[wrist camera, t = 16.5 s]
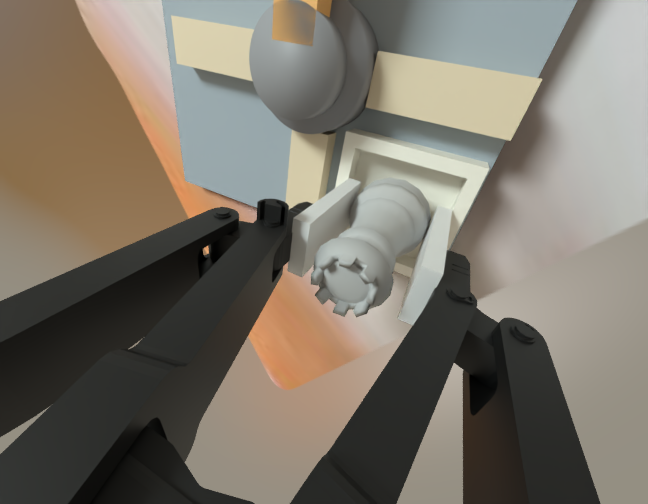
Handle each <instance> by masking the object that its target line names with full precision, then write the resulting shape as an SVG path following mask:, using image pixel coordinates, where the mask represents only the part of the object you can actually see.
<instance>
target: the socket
mask: <svg viewBox="0 0 648 504" xmlns="http://www.w3.org/2000/svg"><path fill="white" fill-rule="evenodd" d="M489 169H490V168H489V165H488V162H484V161H480V160H476V159H472V158H468V157H464V156H461V155H457V154H453V153H449V152H445V151H441V150H437V149H433V148H429V147H425V146H422V145H418V144H414V143H410V142H406V141H402V140H398V139H394V138H390V137H386V136H383V135H379V134H375V133H371V132H367V131H363V130H359V129H352V130H348V131H346V134H345V139H344V144H343V149H342V155H341V160H340V165H339V170H338V175H337V180H336V186H335V188H336V187H338V186H339V185H340V184H342V183H343V182H345V181H346V180H347V179H349V178H351V179H354V180H357V181H360V182H361V185H360V189H359V193H358V194H360V192H361V191H362V189H363V188H365V187H366V186H368V185H369V184H371V183H372V182H373V181H376V180H380V179H385V178H389V177H390V178H395V179H401V180H406V181H408V182H409V183H411V184H412V185H414V186H415V187H417V188H418V189H420V191H421V192H422V194H423V195H424V197H425V198H426V200H427V201H428V203H429V207H430V214H431V220H432V218H433V216H434V213H435V211H436V209H437V206H441V207H444V208H447V209H451V210H452V215H451V222H450V230H449V237H448V245H447V250H449V248H450V246H451V244H452V242H453V240H454V238H455V236H456V234H457V232H458V230H459V228H460V226H461V224H462V222H463V220H464V218H465V216H466V214H467V213H468V211H469V209H470V207H471V205H472V203H473V201H474V199H475V197H476V195H477V193H478V191H479V189H480V187H481V185H482V183H483V181H484V179H485V177H486V175H487V173H488V171H489ZM430 223H431V221H430ZM429 225H430V224H429ZM349 228H350V225H349V226H348V227H347V228H346V229H345V230H344V231H346V230H347V229H349ZM344 231H343V232H344ZM343 232H342V233H343ZM424 237H425V236H424ZM422 241H423V240H422ZM422 241H421V242H420V243H419V244H418V246H417V247H416V248H415V249H414V250H413V251H411V252H409V253H407V254H405V255H402V256H400V257H395V259H396V263H395V267H394V271H395V272H397V273H400V274H402V275H405V276H407V277H411V274H412V271H413V268H414V264H415V261H416V258H417V255H418V252H419V248H420V246H421V243H422Z"/></svg>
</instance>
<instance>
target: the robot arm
mask: <svg viewBox="0 0 648 504" xmlns="http://www.w3.org/2000/svg"><path fill="white" fill-rule="evenodd" d="M360 185H361V182H360V181H357V180H354V179H351V178H349V179H347V180H346V181H345V182H343V183H342V184H340V185H339V186H338V187H336V188H335V189H333V190H332V191H331V192H329V193H328V194H326V195H325V196H324V197H322V198H321V199H319V200H318V201H317V202H315V203H314V204H312V203H309V202H303V203H298V204H297V205H295V206H294V207H293V208H291V209H289V206H288V204H287V203H285V202H284V201H281V200H278V199H262V200H260V201H258V202H257V220H256V221H255V222H254V223H248V222H243V221H239V214H238V212H237V211H235V210H234V209H230V208H227V207H220V208H214V209H211V210H208V211H206V212H204V213H201V214H199V215H197V216H195V217H192V218H190V219H188V220H186V221H183V222H181V223H178V224H176V225H174V226H172V227H169V228H167V229H165V230H163V231H160V232H158V233H156V234H153V235H151V236H149V237H146V238H144V239H142V240H140V241H137V242H135V243H133V244H131V245H128V246H126V247H123V248H121V249H119V250H117V251H114V252H112V253H110V254H107V255H105V256H103V257H101V258H98V259H96V260H94V261H92V262H89V263H87V264H85V265H82V266H80V267H78V268H75V269H73V270H71V271H68V272H66V273H64V274H62V275H59V276H57V277H55V278H53V279H50V280H48V281H46V282H43V283H41V284H39V285H36V286H34V287H32V288H30V289H27V290H25V291H23V292H20V293H18V294H16V295H14V296H11V297H9V298H7V299H4V300H2V301H0V437H1V436H3V435H5V434H6V433H8V432H10V431H11V430H13V429H15V428H16V427H18V426H20V425H21V424H23V423H24V422H26V421H28V420H30V419H31V418H33V417H34V416H36V415H37V414H39V413H40V412H42V411H43V410H45V409H46V408H48V407H49V406H50V405H51V406H50V407H49V408H48V409H47V410H46V411H45V412H44V413H43V414H42V415H41V416H40V417H39V418H38V419H37V420H36V421H35V422H34V423H33V424H32V425H31V426H29V427H28V428H27V430H25V431H24V432H23V433H22V434H21V435H20V436H19V437H18V438H17V439H16V440H15V441H14V442H13V443H12V444H11V445H10V446H9V447H8V448H7V449H6V450H4V451H3V452H2V453H1V454H0V504H254V503H253V502H250V501H247V500H243V499H240V498H236V497H233V496H229V495H226V494H222V493H219V492H215V491H212V490H208V489H205V488H203V487H201V486H200V485H199V484H198V483H197V481H196V480H195V478H194V477H193V475H192V474H191V472H190V470H189V469H188V467H187V466H186V464H185V463H184V462H185V461H186V459H187V457H188V454H189V453H190V450H191V448H192V446H193V443H194V440H195V436H196V433H197V429H198V426H199V423H200V421H201V419H202V417H203V415H204V413H205V411H206V410H207V408H208V406H209V404H210V403H211V401H212V399H213V397H214V395H215V393H216V392H217V390H218V388H219V386H220V385H221V383H222V381H223V379H224V378H225V376H226V374H227V372H228V370H229V368H230V367H231V365H232V363H233V361H234V360H235V358H236V356H237V354H238V352H239V351H240V349H241V347H242V345H243V344H244V342H245V340H246V338H247V336H248V335H249V333H250V331H251V329H252V327H253V326H254V324H255V322H256V320H257V319H258V317H259V315H260V313H261V311H262V310H263V308H264V306H265V304H266V302H267V301H268V299H269V297H270V295H271V294H272V292H273V290H274V288H275V286H276V285H277V283H278V281H279V279H280V277H281V276H282V272H283V266H284V265H285V264H286V263H287V262H288V261H289V262H288V271H289V272H291V273H293V274H296V275H298V276H300V277H303V276H304V275H305V273H306V272H307V271H308V270H309V269H310V268H311V267H312V266H313V265H314V257H315V255H316V253H317V251H318V250H319V248H320V246H321V245H323V244H325V243H326V242H328V241H329V240H331V239H334V238H338V236H339V234H341V233H342V232H343V231H344V230H345V229H346V228H347V227H348V226H349V217H350V209H351V206H352V204H353V203H354V201H355V199H356V197H357V196H358V193H359V189H360ZM451 215H452V210H451V209H447V208H444V207H441V206H437V209H436V211H435V213H434V216H433V218H432V220H431V223H430V225H429V228H428V230H427V232H426V234H425V237H424V239H423V241H422V243H421V246H420V248H419V252H418V255H417V258H416V261H415V264H414V268H413V271H412V274H411V277H410V280H409V283H408V287H407V290H406V293H405V296H404V299H403V303H402V306H401V309H400V312H399V315H398V319H399V320H401V321H403V322H406V323H408V324H410V325H413V326H412V328H411V329H410V331H409V332H408V334H407V335H406V337H405V338H404V340H403V341H402V343H401V344H400V346H399V347H398V349H397V350H396V352H395V353H394V355H393V356H392V358H391V359H390V361H389V362H388V364H387V365H386V367H385V368H384V369H383V371H382V372H381V374H380V375H379V377H378V378H377V380H376V382H375V383H374V385H373V386H372V387H371V389H370V390H369V392H368V394H367V395H366V396H365V398H364V399H363V401H362V402H361V404H360V405H359V407H358V409H357V410H356V411H355V413H354V414H353V416H352V417H351V419H350V420H349V422H348V424H347V425H346V426H345V428H344V429H343V431H342V432H341V434H340V435H339V437H338V438H337V440H336V441H335V443H334V445H333V446H332V447H331V449H330V450H329V451H328V453H327V454H326V455H324V456H323V457H322V458H321V460H320V461H319V462H318V464H317V465H316V466H315V468H314V469H313V471H312V472H311V473H310V475H309V476H308V478H307V479H306V481H305V482H304V484H303V485H302V487H301V488H300V490H299V491H298V493H297V494H296V495H295V497H294V499H293V500H292V502H291V503H290V504H396V503H397V501H398V498H399V496H400V493H401V491H402V488H403V486H404V483H405V481H406V478H407V476H408V474H409V471H410V469H411V466H412V464H413V461H414V459H415V456H416V454H417V452H418V449H419V446H420V444H421V442H422V439H423V437H424V434H425V432H426V429H427V427H428V425H429V422H430V420H431V417H432V415H433V412H434V410H435V407H436V405H437V402H438V400H439V398H440V395H441V393H442V390H443V388H444V385H445V383H446V380H447V378H448V375H449V373H450V370H451V368H452V366H453V363H456V364H457V365H458V366H459V367H461V368H462V369H463V370H464V371H463V504H600V501H599V498H598V495H597V492H596V489H595V486H594V483H593V480H592V477H591V474H590V471H589V468H588V465H587V462H586V459H585V456H584V453H583V450H582V447H581V444H580V441H579V438H578V435H577V433H576V430H575V427H574V424H573V421H572V418H571V415H570V412H569V409H568V406H567V403H566V400H565V397H564V394H563V391H562V388H561V385H560V382H559V379H558V376H557V373H556V370H555V367H554V365H553V361H552V358H551V356H550V352H549V350H548V346H547V344H546V342H545V340H544V338H543V336H542V335H541V334H540V333H539V332H538V331H537V330H536V329H534V328H533V327H531V326H530V325H529V324H527V323H525V322H523V321H520V320H518V319H514V318H504V319H502V320H501V321H500V322H499V323H498V322H496V321H495V320H493V319H491V318H490V317H488V316H486V315H485V314H484V313H482V312H481V311H480V310H479V309H477V308H476V307H477V300H476V298H475V297H474V295H473V294H472V293H471V292H470V263H469V261H468V260H467V258H466V257H465V256H463V255H460V254H457V253H454V252H452V251H449V250H447V245H448V237H449V230H450V222H451ZM206 246H209V254H207V255H205V256H204V255H203V248H204V247H206ZM143 337H144V338H143ZM142 338H143V339H142ZM141 339H142V340H141ZM139 340H141V341H140V342H139V343H138V344H137V345H136V346H135V347H133V348H131V349H128V348H130V347H131V346H133V345H134V344H135V343H137V342H138V341H139Z"/></svg>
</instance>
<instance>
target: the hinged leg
mask: <svg viewBox="0 0 648 504" xmlns="http://www.w3.org/2000/svg"><path fill="white" fill-rule="evenodd" d="M331 3H332V0H274V2H273V5H272V6H270V7H269V8H268V9H267V10H266V11H265V12H264V13H263V14H262V16H261V17H260V19H259V20H258V22H257V24H256V26H255V29H254V32H253V34H252V38H251V43H250V51H249V64H250V72H251V77H252V80H253V84H254V86H255V89H256V91H257V93H258V95H259V97H260V99H261V100H262V102H263V103H264V104H265V105H266V107H267V108H268V109H269V110H271V111H272V112H273V113H274V114H276V115H277V116H279V117H281V118H284V119H288V120H301V119H307V118H313V117H316V116H319V115H321V114H323V113H324V112H326V111H327V110H328V109H329V108H331V107H332V105H333V104H334V103H335V102H336V100H337V99H338V97H339V95H340V93H341V91H342V88H343V85H344V82H345V78H346V71H347V55H346V48H345V44H344V41H343V38H342V35H341V33H340V31H339V29H338V27H337V26H336V24H335V23H334V22H333V20H332V19H331V18H330V11H331Z"/></svg>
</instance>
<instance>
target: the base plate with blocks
mask: <svg viewBox="0 0 648 504" xmlns="http://www.w3.org/2000/svg"><path fill="white" fill-rule="evenodd" d="M273 2H274V0H162V6H163V13H164V21H165V29H166V36H167V44H168V52H169V59H170V67H171V75H172V83H173V90H174V98H175V106H176V113H177V121H178V129H179V137H180V144H181V152H182V160H183V167H184V175H185V181H187V182H190V183H192V184H195V185H198V186H200V187H203V188H206V189H208V190H211V191H213V192H216V193H219V194H221V195H224V196H227V197H229V198H232V199H235V200H237V201H240V202H243V203H245V204H248V205H251V206H253V207H256V208H257V202H258V201H260V200H262V199H278V200H281V201H284V202H285V203H287V204H288V206H289V209H291V208H293V207H294V206H295V205H297V204H298V203H303V202H309V203H312V204H314V203H315V202H317V201H318V200H319V199H321V198H322V197H324V196H325V195H326V194H328V193H329V192H331V191H332V190H333V189H335V186H336V180H337V175H338V170H339V165H340V160H341V155H342V149H343V144H344V139H345V134H346V131H348V130H352V129H359V130H363V131H367V132H371V133H375V134H379V135H383V136H386V137H390V138H394V139H398V140H402V141H406V142H410V143H414V144H418V145H422V146H425V147H429V148H433V149H437V150H441V151H445V152H449V153H453V154H457V155H461V156H464V157H468V158H472V159H476V160H480V161H484V162H488V165H489V168H490V169H489V171H488V173H487V175H486V177H485V179H484V181H483V183H482V185H481V187H480V189H479V191H478V193H477V195H476V197H475V199H474V201H473V203H472V205H471V207H470V209H469V211H468V213H467V214H466V216H465V218H464V220H463V222H462V224H461V226H460V228H459V230H458V232H457V234H456V236H455V238H454V240H453V242H452V244H451V246H450V248H449V251H450V249H451V247H452V245H453V243H454V241H455V239H456V237H457V235H458V234H459V232H460V230H461V228H462V226H463V224H464V222H465V220H466V218H467V216H468V214H469V212H470V210H471V208H472V206H473V204H474V202H475V200H476V198H477V196H478V194H479V192H480V190H481V188H482V186H483V185H484V183H485V181H486V179H487V177H488V175H489V173H490V171H491V169H492V167H493V165H494V163H495V161H496V159H497V157H498V155H499V153H500V151H501V149H502V147H503V145H504V143H505V141H506V140H509V141H511V139H512V137H513V135H514V133H515V131H516V129H517V128H518V126H519V124H520V122H521V120H522V118H523V116H524V114H525V112H526V110H527V108H528V106H529V104H530V103H531V101H532V99H533V97H534V95H535V93H536V91H537V89H538V87H539V85H540V83H541V81H542V79H541V78H538V77H539V75H540V73H541V71H542V69H543V67H544V65H545V63H546V61H547V59H548V57H549V55H550V53H551V51H552V49H553V47H554V45H555V43H556V41H557V40H558V38H559V36H560V34H561V32H562V30H563V28H564V26H565V24H566V22H567V20H568V18H569V16H570V14H571V12H572V10H573V8H574V6H575V4H576V2H577V0H332V3H331V11H330V18H331V19H332V20H333V22H334V23H335V24H336V26H337V27H338V29H339V31H340V33H341V35H342V38H343V41H344V44H345V48H346V55H347V71H346V78H345V82H344V85H343V88H342V91H341V93H340V95H339V97H338V99H337V100H336V102H335V103H334V104H333V105H332V107H331V108H329V109H328V110H327V111H326V112H324V113H323V114H321V115H319V116H316V117H313V118H307V119H301V120H288V119H284V118H281V117H279V116H277V115H276V114H274V113H273V112H272V111H271V110H269V109H268V108H267V107H266V105H265V104H264V103H263V102H262V100H261V99H260V97H259V95H258V93H257V91H256V89H255V86H254V84H253V80H252V77H251V72H250V64H249V51H250V43H251V38H252V34H253V32H254V29H255V26H256V24H257V22H258V20H259V19H260V17H261V16H262V14H263V13H264V12H265V11H266V10H267V9H268V8H269V7H270V6H272V5H273Z"/></svg>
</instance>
